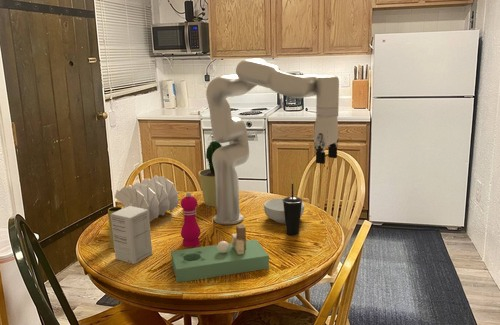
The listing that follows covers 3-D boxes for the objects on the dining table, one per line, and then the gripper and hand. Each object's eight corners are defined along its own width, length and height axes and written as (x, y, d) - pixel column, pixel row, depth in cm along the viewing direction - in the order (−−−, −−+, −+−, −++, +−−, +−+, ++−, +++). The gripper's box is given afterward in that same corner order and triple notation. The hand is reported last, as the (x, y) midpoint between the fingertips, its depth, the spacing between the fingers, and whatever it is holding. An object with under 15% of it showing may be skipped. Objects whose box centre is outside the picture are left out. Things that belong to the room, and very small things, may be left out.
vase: (111, 249, 170) (108, 212, 167) (108, 244, 176) (104, 207, 172) (128, 246, 173) (125, 209, 170) (124, 240, 178) (121, 205, 175)
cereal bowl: (310, 224, 190) (310, 207, 189) (271, 229, 186) (271, 212, 184) (295, 211, 206) (295, 195, 204) (259, 215, 202) (258, 200, 200)
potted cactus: (197, 199, 225) (194, 137, 218) (229, 196, 229) (227, 135, 222) (202, 209, 211) (199, 144, 204) (235, 206, 214) (233, 141, 207)
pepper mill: (204, 241, 176) (201, 190, 171) (196, 249, 169) (193, 196, 165) (187, 239, 178) (184, 188, 174) (178, 246, 172) (174, 194, 167)
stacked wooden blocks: (232, 245, 160) (231, 222, 158) (241, 243, 161) (241, 221, 159) (238, 254, 152) (237, 231, 150) (248, 253, 153) (247, 230, 151)
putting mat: (171, 263, 158) (170, 251, 157) (256, 251, 166) (256, 239, 165) (177, 282, 145) (176, 269, 144) (269, 268, 153) (268, 255, 152)
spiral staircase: (176, 219, 210) (137, 236, 189) (149, 198, 217) (108, 212, 195) (190, 186, 203) (151, 200, 182) (161, 165, 210) (120, 176, 188)
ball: (216, 251, 156) (215, 239, 155) (227, 249, 157) (227, 238, 157) (218, 256, 153) (218, 244, 152) (230, 254, 154) (230, 242, 153)
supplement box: (133, 248, 171) (129, 205, 167) (153, 253, 166) (149, 208, 162) (114, 259, 163) (109, 213, 159) (133, 264, 158) (129, 217, 154)
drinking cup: (301, 237, 177) (301, 187, 172) (281, 236, 178) (281, 186, 174) (303, 230, 184) (303, 181, 179) (284, 229, 186) (283, 180, 181)
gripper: (328, 108, 170) (327, 154, 174) (305, 114, 156) (305, 164, 161) (347, 109, 166) (346, 156, 170) (326, 116, 152) (325, 167, 156)
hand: (326, 160), depth 165 cm, fingers open, 9 cm apart
